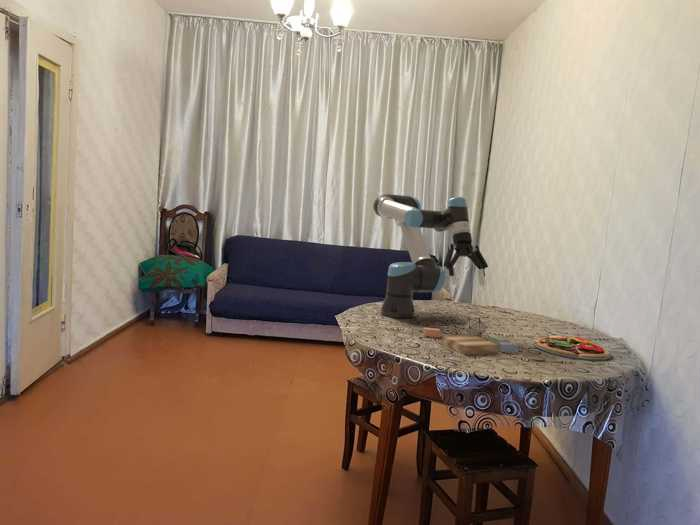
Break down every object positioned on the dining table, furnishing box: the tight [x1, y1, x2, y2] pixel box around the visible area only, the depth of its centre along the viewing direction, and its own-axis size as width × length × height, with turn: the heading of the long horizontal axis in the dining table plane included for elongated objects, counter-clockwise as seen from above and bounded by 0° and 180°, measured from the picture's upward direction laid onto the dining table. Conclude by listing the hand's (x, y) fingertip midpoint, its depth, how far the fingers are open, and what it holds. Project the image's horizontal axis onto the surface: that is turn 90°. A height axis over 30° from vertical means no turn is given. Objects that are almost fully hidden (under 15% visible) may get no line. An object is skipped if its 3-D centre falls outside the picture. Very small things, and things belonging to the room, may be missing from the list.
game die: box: [461, 317, 489, 338], centre depth 220 cm, size 9×8×10 cm
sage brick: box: [487, 335, 508, 345], centre depth 213 cm, size 6×3×3 cm, turn 35°
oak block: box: [440, 334, 498, 355], centre depth 203 cm, size 14×14×3 cm
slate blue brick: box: [497, 342, 518, 354], centre depth 204 cm, size 6×3×3 cm, turn 105°
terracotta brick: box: [423, 327, 442, 339], centre depth 218 cm, size 6×3×3 cm, turn 86°
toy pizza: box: [532, 335, 613, 361], centre depth 215 cm, size 28×28×4 cm
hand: (468, 284), depth 228 cm, fingers open, 13 cm apart
